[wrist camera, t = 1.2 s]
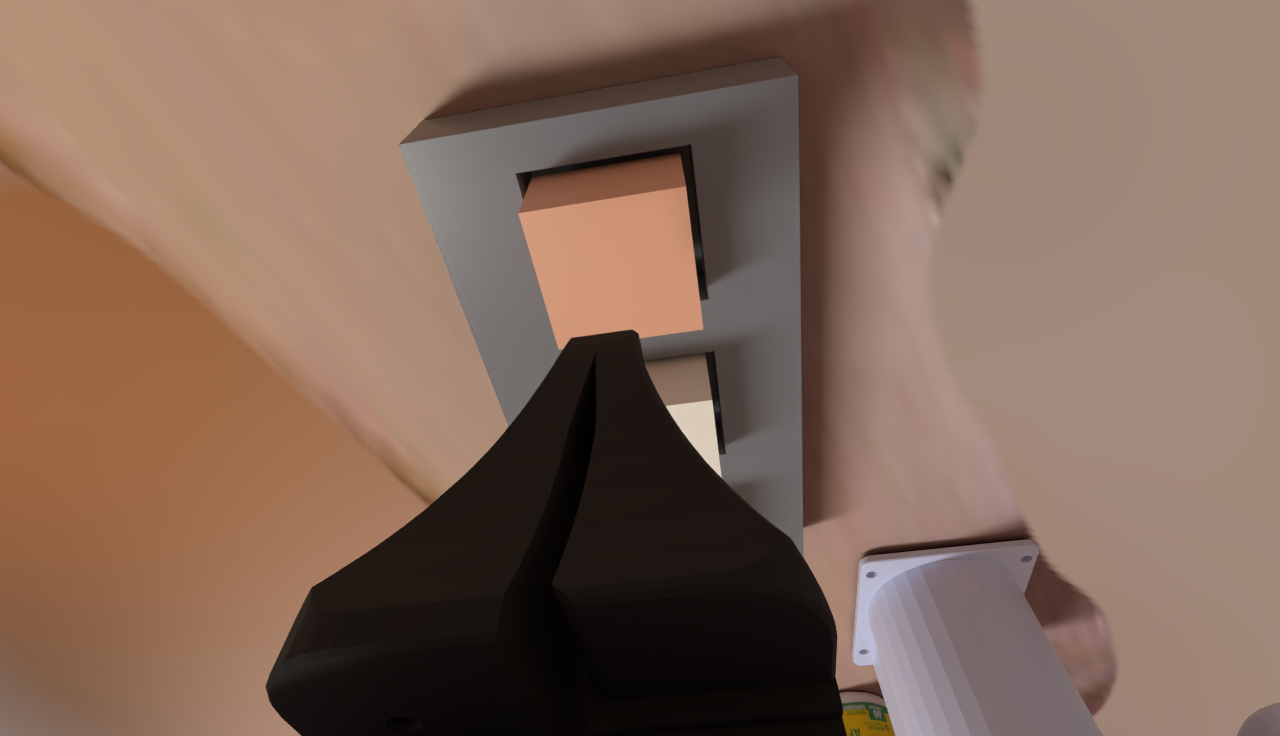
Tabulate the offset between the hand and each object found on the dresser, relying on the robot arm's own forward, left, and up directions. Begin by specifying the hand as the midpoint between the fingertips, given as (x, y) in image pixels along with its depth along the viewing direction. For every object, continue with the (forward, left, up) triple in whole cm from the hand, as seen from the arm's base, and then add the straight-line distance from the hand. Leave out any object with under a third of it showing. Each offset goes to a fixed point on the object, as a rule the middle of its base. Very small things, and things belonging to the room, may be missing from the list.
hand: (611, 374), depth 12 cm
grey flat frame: (-7, 0, -8) cm, 11 cm away
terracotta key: (0, 0, -7) cm, 7 cm away
